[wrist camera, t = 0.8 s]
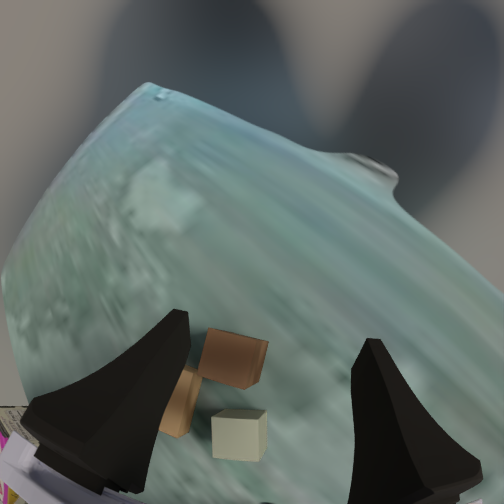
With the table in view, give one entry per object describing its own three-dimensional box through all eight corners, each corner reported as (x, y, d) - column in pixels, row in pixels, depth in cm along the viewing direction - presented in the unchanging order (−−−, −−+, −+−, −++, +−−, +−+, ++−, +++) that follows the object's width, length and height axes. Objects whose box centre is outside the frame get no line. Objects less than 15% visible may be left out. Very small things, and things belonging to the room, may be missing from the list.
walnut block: (258, 381, 25) (244, 389, 20) (219, 370, 26) (196, 374, 21) (268, 341, 26) (256, 339, 21) (228, 331, 27) (208, 327, 22)
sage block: (267, 447, 23) (258, 461, 19) (226, 444, 24) (212, 457, 20) (266, 410, 24) (258, 419, 21) (225, 408, 25) (211, 416, 21)
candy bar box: (104, 479, 24) (7, 511, 9) (78, 454, 26) (-19, 472, 11) (131, 424, 26) (12, 448, 11) (102, 397, 28) (-15, 402, 13)
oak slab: (190, 431, 25) (177, 438, 22) (135, 406, 27) (119, 409, 24) (205, 371, 27) (193, 373, 24) (148, 350, 29) (132, 348, 26)
